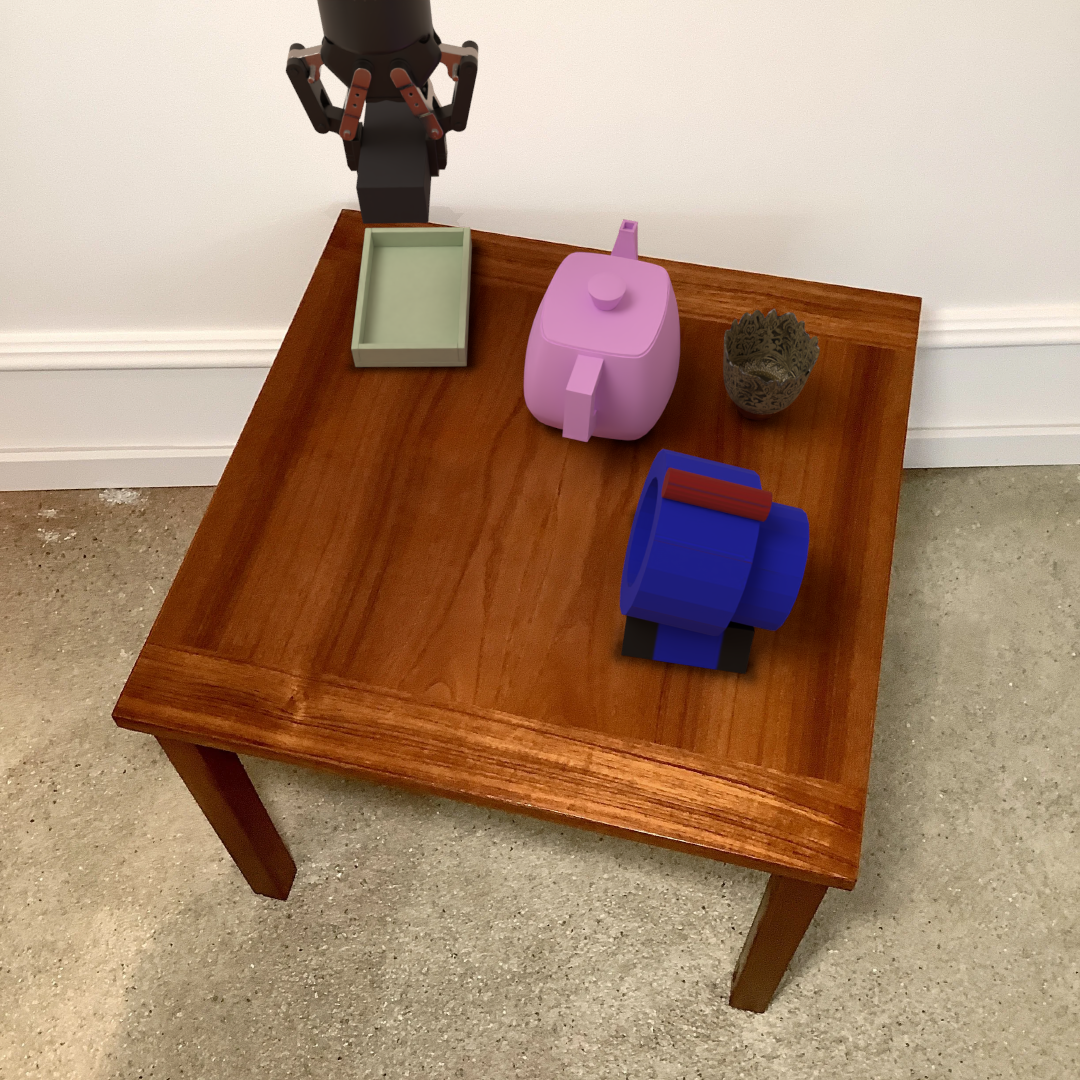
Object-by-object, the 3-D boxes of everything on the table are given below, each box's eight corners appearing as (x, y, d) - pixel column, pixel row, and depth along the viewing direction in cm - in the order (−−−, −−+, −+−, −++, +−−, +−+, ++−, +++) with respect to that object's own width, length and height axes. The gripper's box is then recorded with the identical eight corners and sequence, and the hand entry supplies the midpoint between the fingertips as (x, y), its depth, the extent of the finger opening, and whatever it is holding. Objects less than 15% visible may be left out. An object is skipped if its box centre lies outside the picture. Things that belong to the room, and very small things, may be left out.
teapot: (650, 497, 87) (664, 397, 77) (500, 467, 89) (493, 365, 78) (693, 317, 98) (710, 205, 87) (558, 293, 99) (558, 181, 88)
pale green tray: (355, 367, 95) (350, 348, 93) (369, 247, 103) (365, 227, 101) (466, 366, 95) (464, 347, 93) (471, 246, 103) (470, 226, 101)
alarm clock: (631, 515, 87) (645, 395, 74) (787, 537, 85) (829, 419, 73) (610, 653, 80) (621, 548, 68) (778, 678, 79) (822, 576, 66)
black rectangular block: (373, 129, 89) (367, 91, 86) (434, 128, 89) (430, 91, 86) (362, 224, 83) (355, 187, 80) (428, 223, 83) (423, 186, 80)
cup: (816, 426, 91) (837, 362, 84) (737, 453, 90) (752, 390, 83) (773, 362, 95) (790, 297, 88) (697, 387, 93) (708, 322, 87)
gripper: (479, -75, 73) (491, 138, 87) (265, -73, 73) (312, 140, 87) (476, -9, 69) (489, 202, 84) (250, -7, 69) (302, 204, 84)
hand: (398, 169), depth 85 cm, fingers closed on black rectangular block, 5 cm apart
